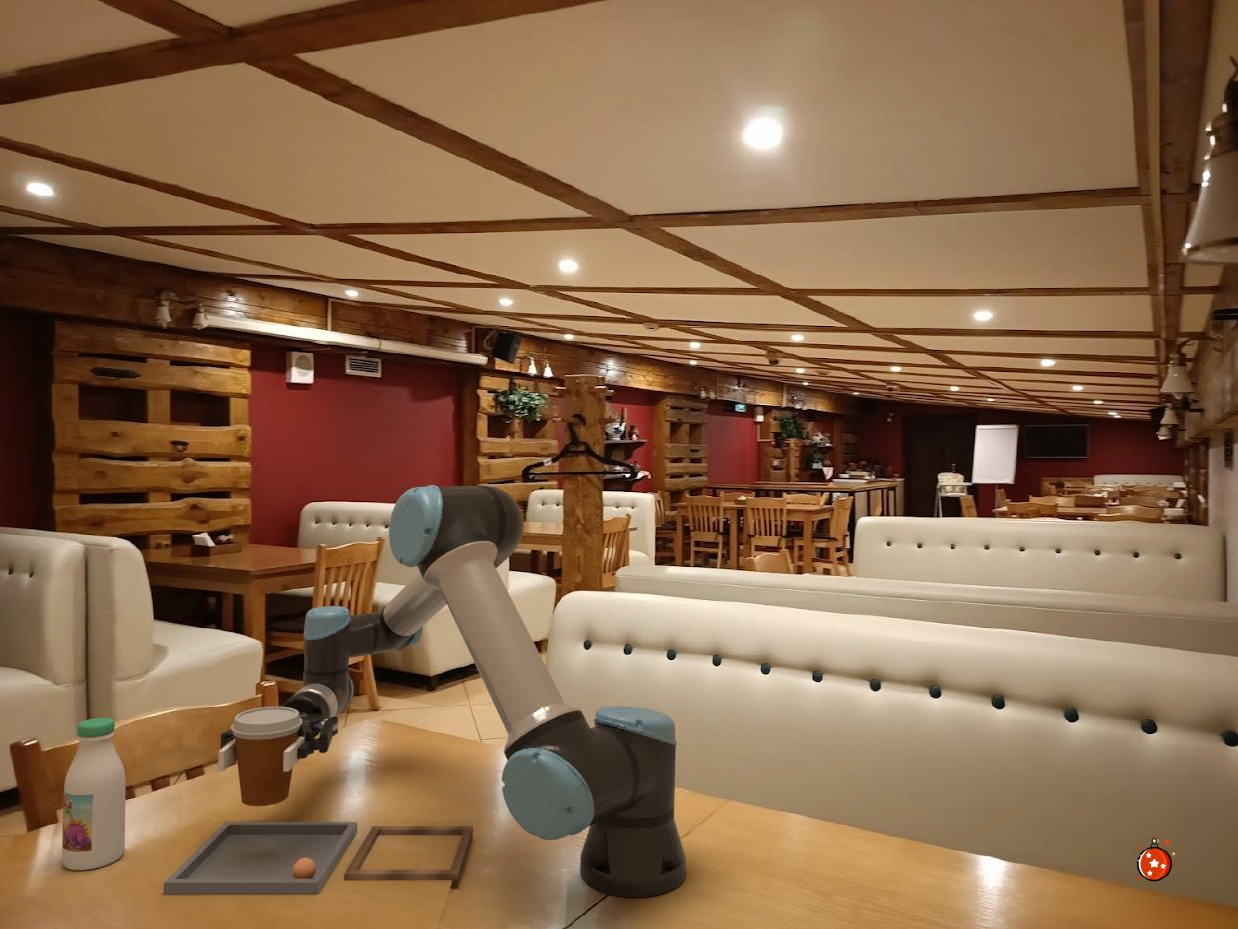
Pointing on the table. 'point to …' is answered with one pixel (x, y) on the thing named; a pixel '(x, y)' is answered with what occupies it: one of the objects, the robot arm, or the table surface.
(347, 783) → the table surface
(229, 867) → the tray
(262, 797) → the disposable coffee cup
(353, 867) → the frame
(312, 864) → the ball
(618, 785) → the robot arm
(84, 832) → the milk bottle
